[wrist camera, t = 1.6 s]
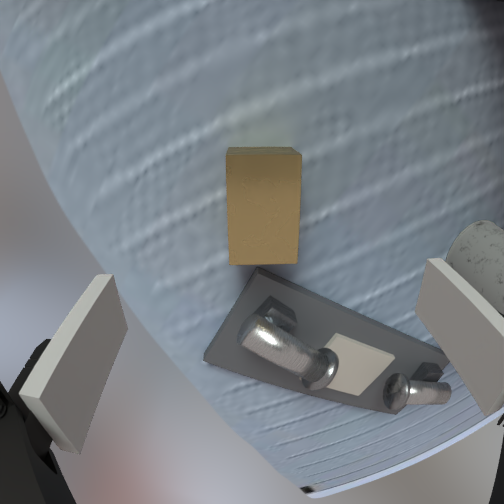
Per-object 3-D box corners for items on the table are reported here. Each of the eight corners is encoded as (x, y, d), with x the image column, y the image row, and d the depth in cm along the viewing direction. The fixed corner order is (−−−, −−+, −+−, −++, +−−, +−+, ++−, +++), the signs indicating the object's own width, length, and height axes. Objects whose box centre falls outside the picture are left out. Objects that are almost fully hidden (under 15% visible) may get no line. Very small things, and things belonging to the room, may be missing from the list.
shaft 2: (442, 364, 35) (460, 393, 30) (424, 386, 37) (439, 416, 31) (394, 358, 34) (411, 392, 28) (375, 383, 35) (389, 417, 30)
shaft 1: (232, 320, 30) (231, 362, 25) (261, 289, 29) (266, 328, 24) (300, 359, 33) (309, 399, 27) (329, 333, 31) (343, 372, 26)
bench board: (257, 266, 29) (257, 273, 28) (448, 353, 36) (452, 358, 35) (204, 353, 33) (203, 360, 32) (393, 408, 40) (395, 414, 39)
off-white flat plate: (336, 332, 31) (337, 336, 31) (393, 354, 33) (395, 358, 33) (299, 375, 34) (299, 379, 33) (357, 392, 36) (358, 395, 35)
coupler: (228, 147, 25) (225, 155, 20) (290, 146, 25) (301, 154, 20) (231, 238, 28) (229, 265, 24) (288, 237, 28) (297, 263, 24)
